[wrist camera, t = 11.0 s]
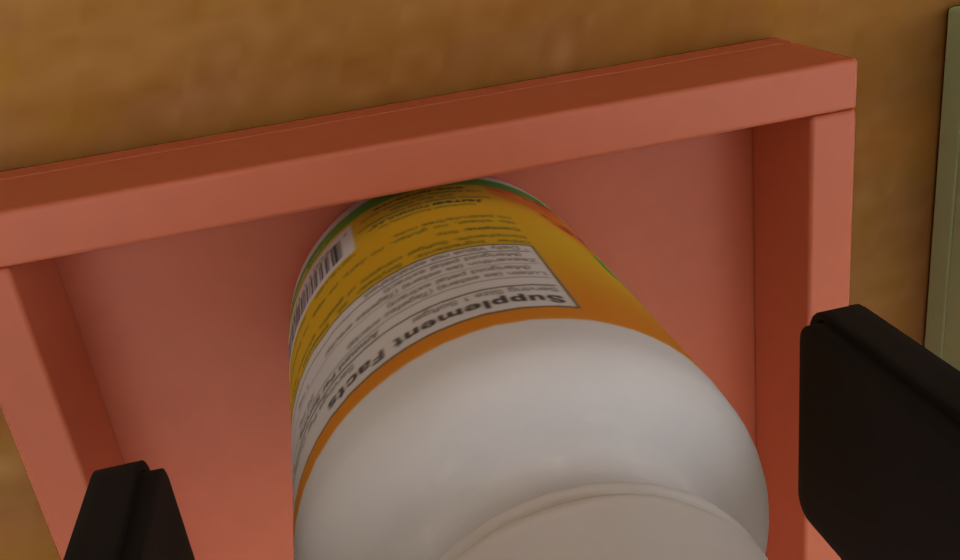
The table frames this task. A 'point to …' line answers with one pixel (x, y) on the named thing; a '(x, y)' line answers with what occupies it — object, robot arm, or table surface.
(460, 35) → the table surface
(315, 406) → the supplement bottle
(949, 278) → the sage tray
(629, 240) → the terracotta tray
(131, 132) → the table surface
